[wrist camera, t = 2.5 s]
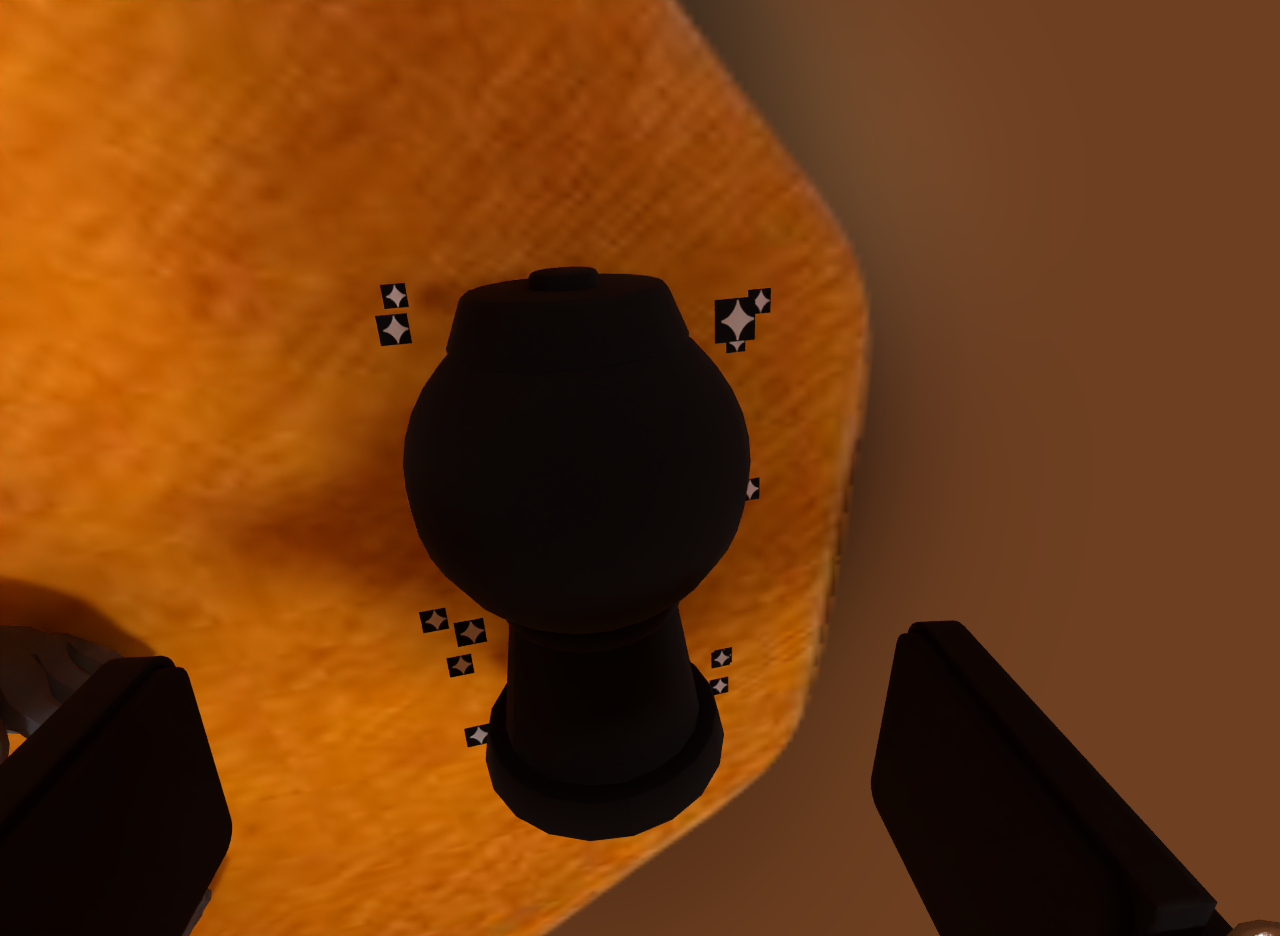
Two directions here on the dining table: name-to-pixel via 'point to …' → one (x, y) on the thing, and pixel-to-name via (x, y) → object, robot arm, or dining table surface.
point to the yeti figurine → (47, 685)
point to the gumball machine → (583, 531)
